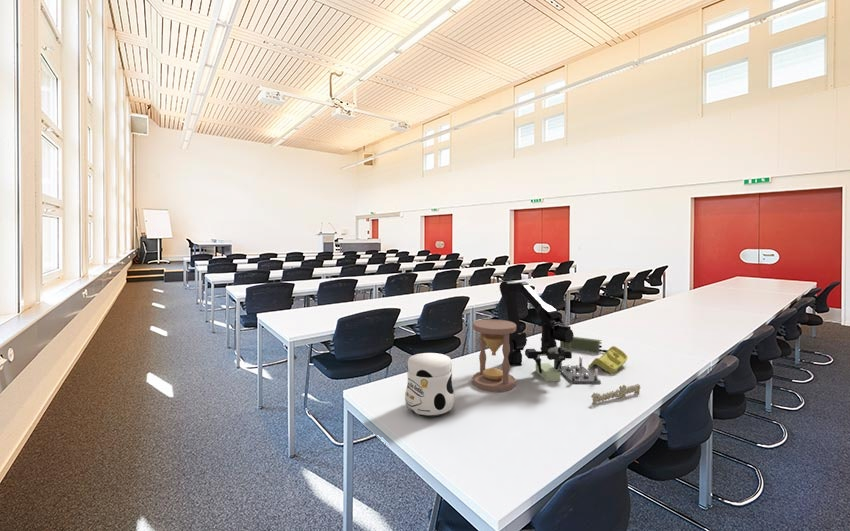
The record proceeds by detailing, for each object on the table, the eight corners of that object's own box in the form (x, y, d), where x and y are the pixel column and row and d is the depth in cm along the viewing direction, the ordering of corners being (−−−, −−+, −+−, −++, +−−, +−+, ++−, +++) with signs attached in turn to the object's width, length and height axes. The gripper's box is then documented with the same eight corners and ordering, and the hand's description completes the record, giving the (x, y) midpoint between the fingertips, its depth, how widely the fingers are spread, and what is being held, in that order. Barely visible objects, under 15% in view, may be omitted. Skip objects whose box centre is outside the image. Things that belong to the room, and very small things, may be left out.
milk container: (397, 416, 129) (396, 364, 128) (416, 395, 145) (416, 349, 144) (445, 425, 123) (445, 371, 121) (460, 402, 139) (460, 354, 138)
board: (546, 381, 159) (546, 373, 159) (535, 371, 171) (535, 363, 171) (560, 380, 160) (560, 372, 160) (548, 370, 172) (548, 363, 172)
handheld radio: (561, 346, 209) (611, 353, 196) (559, 348, 206) (610, 355, 193) (561, 334, 208) (611, 340, 195) (559, 336, 205) (611, 342, 192)
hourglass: (464, 378, 162) (465, 321, 160) (499, 372, 169) (500, 317, 167) (487, 394, 146) (488, 331, 144) (524, 387, 153) (525, 326, 151)
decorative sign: (593, 407, 137) (594, 394, 137) (591, 406, 138) (591, 393, 138) (640, 394, 147) (640, 381, 146) (637, 392, 148) (638, 380, 147)
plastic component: (614, 370, 166) (594, 355, 172) (607, 382, 169) (586, 367, 175) (630, 356, 179) (611, 343, 185) (623, 368, 182) (604, 355, 188)
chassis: (571, 383, 157) (572, 370, 156) (556, 368, 174) (556, 356, 174) (600, 383, 157) (601, 370, 156) (582, 367, 175) (582, 356, 174)
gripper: (532, 343, 156) (531, 380, 157) (577, 342, 156) (576, 379, 157) (524, 335, 167) (524, 370, 168) (567, 335, 167) (566, 370, 169)
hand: (547, 372), depth 165 cm, fingers open, 6 cm apart
